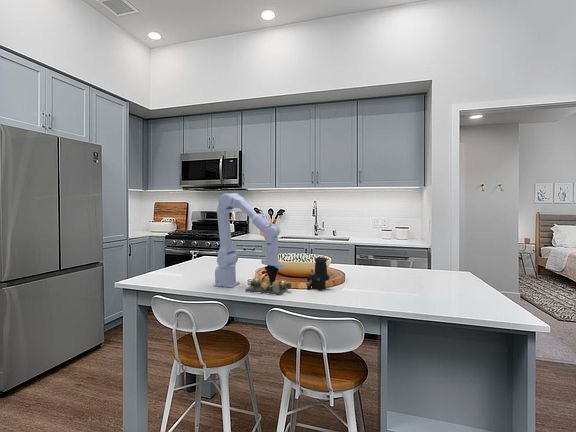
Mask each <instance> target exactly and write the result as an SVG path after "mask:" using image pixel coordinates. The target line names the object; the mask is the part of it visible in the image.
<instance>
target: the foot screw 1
mask: <svg viewBox="0 0 576 432" xmlns="http://www.w3.org/2000/svg"><path fill="white" fill-rule="evenodd" d="M261 283H262V278H260V277H253V279H252V281H251V280H250V286H255V285H260V284H261Z"/></svg>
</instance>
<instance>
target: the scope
mask: <svg viewBox="0 0 576 432" xmlns="http://www.w3.org/2000/svg"><path fill="white" fill-rule="evenodd" d="M327 259H328V258H326V257H321V256H320V257H316V258H314V269H310V270H311V271H310V274H309V275H308V276H307V277H306V283H305V285H306V289H307V290H318V291H324V290H326V287H327V286H326V284H327V282H326V281H330V279H331V278H330V276H329V275H328V267H327V266H328V265H327V261H328V260H327ZM311 286H312V288H313V289H311Z"/></svg>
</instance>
